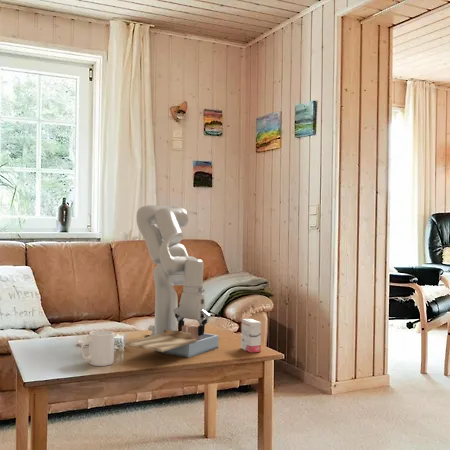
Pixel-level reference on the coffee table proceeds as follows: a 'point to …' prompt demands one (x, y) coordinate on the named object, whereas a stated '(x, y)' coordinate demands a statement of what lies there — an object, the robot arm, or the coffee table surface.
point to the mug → (100, 348)
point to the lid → (164, 341)
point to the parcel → (191, 330)
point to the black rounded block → (83, 342)
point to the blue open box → (196, 346)
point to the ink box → (251, 335)
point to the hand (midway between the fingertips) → (190, 333)
